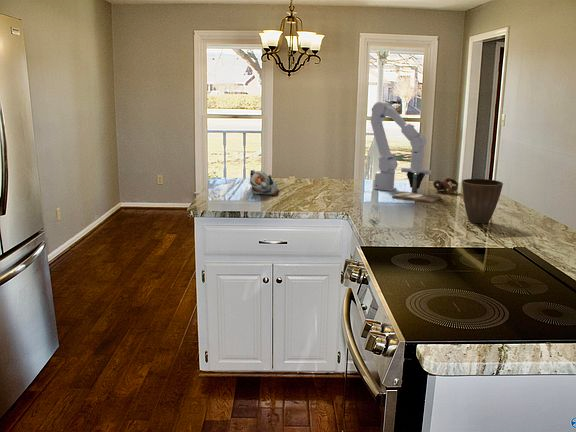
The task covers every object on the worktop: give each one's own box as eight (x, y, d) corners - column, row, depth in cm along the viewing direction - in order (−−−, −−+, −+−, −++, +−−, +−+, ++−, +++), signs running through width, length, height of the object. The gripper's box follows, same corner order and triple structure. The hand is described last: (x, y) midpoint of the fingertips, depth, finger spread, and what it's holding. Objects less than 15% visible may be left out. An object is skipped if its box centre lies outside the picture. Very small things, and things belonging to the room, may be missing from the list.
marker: (410, 193, 268) (411, 174, 266) (412, 192, 270) (413, 173, 268) (416, 193, 266) (417, 175, 264) (418, 192, 269) (419, 174, 267)
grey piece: (284, 194, 256) (278, 171, 247) (262, 206, 253) (255, 182, 244) (269, 181, 267) (263, 158, 258) (248, 191, 264) (241, 168, 255)
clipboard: (392, 198, 255) (392, 195, 254) (402, 193, 266) (402, 190, 266) (432, 203, 245) (432, 200, 245) (440, 198, 257) (440, 195, 257)
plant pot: (472, 227, 203) (476, 185, 199) (450, 218, 217) (454, 179, 213) (506, 225, 207) (511, 184, 203) (483, 216, 221) (487, 178, 217)
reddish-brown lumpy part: (450, 191, 278) (458, 179, 273) (453, 202, 271) (461, 190, 266) (429, 185, 277) (436, 172, 272) (431, 196, 270) (438, 183, 265)
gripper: (399, 160, 265) (397, 187, 268) (429, 162, 258) (426, 190, 261) (404, 158, 271) (402, 185, 274) (433, 161, 264) (431, 188, 267)
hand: (414, 187), depth 268 cm, fingers closed on marker, 3 cm apart
